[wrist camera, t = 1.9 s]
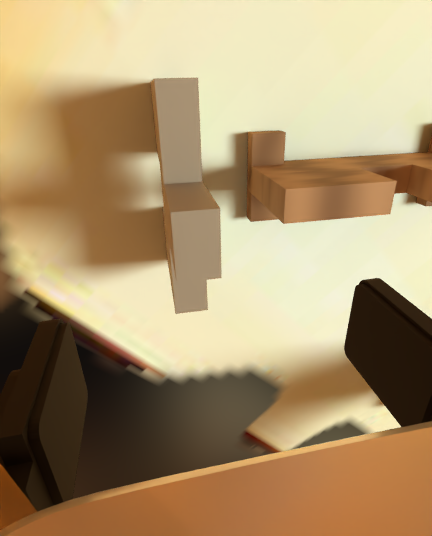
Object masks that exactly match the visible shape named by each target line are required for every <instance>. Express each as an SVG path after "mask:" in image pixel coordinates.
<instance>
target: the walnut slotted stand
mask: <svg viewBox="0 0 432 536" xmlns="http://www.w3.org/2000/svg"><path fill="white" fill-rule="evenodd" d="M285 134H286V132H283V131H261V132H248V170H247V218H248V219H249V220H250V221H251V222H253V221H264V220H275V219H279V220H280V221H281V222H282V223H283V224H285V223H296V222H307V221H318V220H330V219H341V218H352V217H363V216H374V215H385V214H390V212H391V207H392V202H393V197H394V194H395V193H408V194H411V195H414V196H416V197H417V200H416V203H419V204H421V205H424V206H432V136H431V140H430V145H429V149H428V152H422V153H406V154H390V155H374V156H357V157H341V158H325V159H309V160H293V161H284V151H285Z"/></svg>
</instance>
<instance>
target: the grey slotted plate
mask: <svg viewBox="0 0 432 536" xmlns="http://www.w3.org/2000/svg"><path fill="white" fill-rule="evenodd" d="M151 92H152V103H153V113H154V124H155V134H156V145H157V153H158V157H159V162H160V171H161V181H162V192H163V203H164V207H163V218H164V228H165V239H166V249H167V260H168V266H169V273H170V279H171V286H172V293H173V299H174V306H175V313H176V314H178V313H186V312H194V311H202V310H208V306H207V282H206V280H207V279H216V278H221V233H220V208H219V206H218V205H217V203H216V202H215V200H214V199H213V197H212V196H211V194H210V193H209V191H208V190H207V188H206V186H205V185H204V183H203V182H202V163H201V139H200V115H199V92H198V78H163V79H153V80H152V81H151Z"/></svg>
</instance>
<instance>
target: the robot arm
mask: <svg viewBox="0 0 432 536" xmlns="http://www.w3.org/2000/svg"><path fill="white" fill-rule="evenodd" d="M344 350H345V354H346V356H347V358H348V359H349V360H350V361H351V363H352V364H353V365H354V367H355V368H356V369H357V370H358V372H359V373H360V374H361V376H362V377H363V378H364V379H365V381H366V382H367V383H368V385H369V386H370V387H371V388H372V390H373V391H374V392H375V393H376V395H377V396H378V397H379V399H380V400H381V401H382V402H383V404H384V405H385V406H386V408H387V409H388V410H389V411H390V413H391V414H392V415H393V416H394V418H395V419H396V420H397V422H398V423H399V424H400V425H401V427H400V428H395V429H390V430H385V431H380V432H375V433H370V434H365V435H361V436H356V437H351V438H346V439H341V440H336V441H331V442H327V443H322V444H317V445H313V446H307V447H303V448H298V449H293V450H288V451H283V452H278V453H274V454H269V455H264V456H259V457H255V458H250V459H245V460H241V461H236V462H231V463H227V464H222V465H218V466H213V467H208V468H203V469H199V470H194V471H189V472H185V473H180V474H175V475H171V476H166V477H162V478H157V479H153V480H148V481H144V482H140V483H135V484H131V485H127V486H122V487H118V488H114V489H110V490H105V491H101V492H97V493H94V494H90V495H86V496H83V497H79V498H76V499H73V493H74V485H75V479H76V473H77V466H78V459H79V453H80V446H81V439H82V433H83V426H84V419H85V412H86V407H87V399H88V397H87V396H88V395H87V387H86V383H85V379H84V375H83V372H82V368H81V364H80V360H79V356H78V352H77V348H76V345H75V341H74V337H73V333H72V329H71V326H70V324H69V323H63V321H62V319H56V320H48V321H41V322H40V323H39V325H38V328H37V331H36V333H35V335H34V338H33V340H32V343H31V345H30V348H29V350H28V353H27V355H26V358H25V360H24V363H23V365H22V368H21V369H19V370H14V371H12V372H11V373H10V375H9V376H8V379H7V381H6V383H5V385H4V388H3V390H2V392H1V395H0V536H432V319H431V318H430V317H428V316H427V315H426V314H425V313H423V312H422V311H421V310H420V309H418V308H417V307H416V306H414V305H413V304H412V303H411V302H409V301H408V300H407V299H406V298H404V297H403V296H402V295H400V294H399V293H398V292H397V291H395V290H394V289H393V288H392V287H390V286H389V285H388V284H386V283H385V282H384V281H383V280H381V279H379V278H375V279H367V280H362V281H361V282H360V283H359V285H357V286H356V287H355V291H354V297H353V302H352V307H351V313H350V318H349V324H348V329H347V335H346V340H345V346H344Z"/></svg>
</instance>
